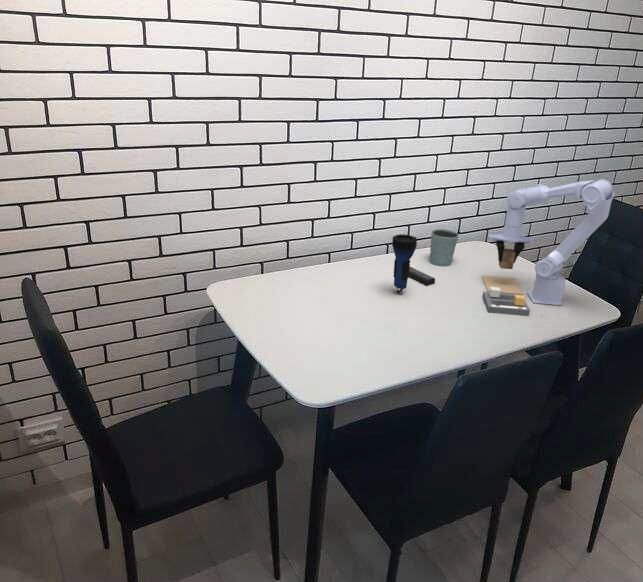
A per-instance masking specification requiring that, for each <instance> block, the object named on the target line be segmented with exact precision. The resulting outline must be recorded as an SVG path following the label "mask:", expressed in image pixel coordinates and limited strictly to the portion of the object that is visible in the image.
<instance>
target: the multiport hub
mask: <svg viewBox="0 0 643 582" xmlns="http://www.w3.org/2000/svg"><path fill="white" fill-rule="evenodd" d="M409 267H410V269H409V275H408V276H409V278H410V279H412V280H413V281H415V282H417V283H419V284H421V285H423V286H426V287H428V286H431V285H435V283H436V278H434V277H433V276H430V275H428V274H426V273H424V272H422V271H420V270H419V269H416V268H414V267H411V265H410V266H409ZM409 278H408V279H409Z"/></svg>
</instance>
